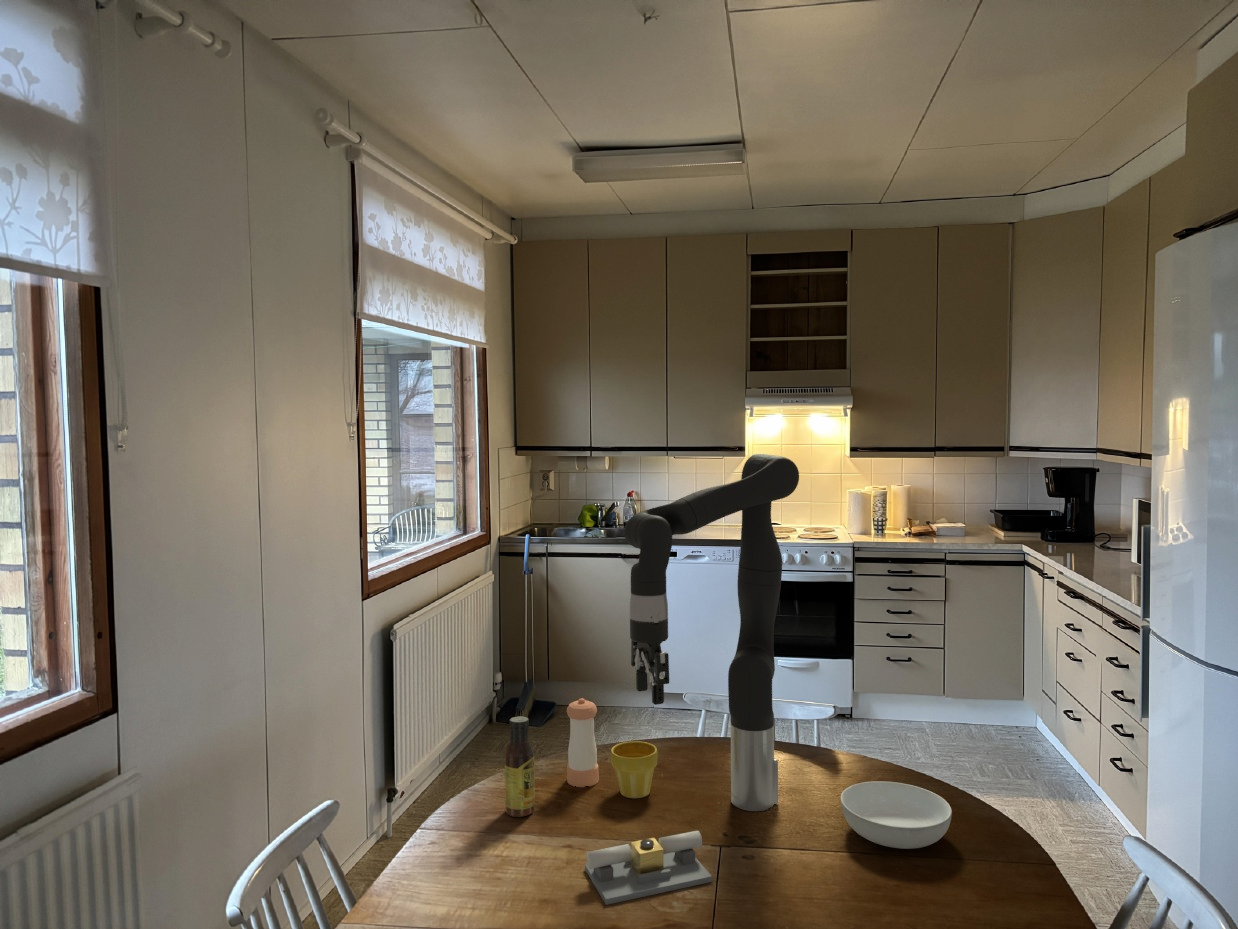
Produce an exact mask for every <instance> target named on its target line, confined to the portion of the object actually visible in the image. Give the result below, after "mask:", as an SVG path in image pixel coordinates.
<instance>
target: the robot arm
mask: <svg viewBox="0 0 1238 929" xmlns="http://www.w3.org/2000/svg"><path fill="white" fill-rule="evenodd" d="M740 478H741V479H739V480H736V481H732V482H730V483H725V484H721V485H715V486H711V487H706V488H704V489H700V490H698V491H695V492H692V493H689V494H688V495H685V496H682V497H681V498H679V499H676V500H675V501H673V502H670V503H667V504H664V505H659V506H656V507H652V508H648V509H645V510H642V511H639V512H637V513H635V514H634V515H632V516H631V517H630V518H628V520H627V521H626V523H625V526H624V529H623V535H624V539H625V541H626V542H627V543H628V544H629V545H630V546H632V547H633V548H636V549H639V557H638V562H636V563H634V564H633V565H632V567H631V569H630V598H629V638H630V640H631V641H630V642H631V643H630V644H631V645H630V646H631V650H630V652H631V654H630V655H631V656H630V660H631V661H630V664H631V666H632V667H634V668H633V669H634V672H635V684H636V685H635V688H636V690H637V692H645V691H647V690H648V689H649V688H648V684H649V683H648V676H649V677H650V680H651V681H650V682H651V703H652V704H653V705H657V706H658V705H662V704H664V703H665V689H664V688H665V685H669V684H670V663H669V662H670V661H669V660H670V659H669V658H670V657H669V656H670V655H669V653H668V652H667V651H666V652H665V651H662V645H661V644H662V643H663V642H666V641H667V640H668V638H669V605H668V603H669V602H668V598H667V597H668V596H667V594H668V593H667V570H668V565H669V562H670V556H671V553H672V552H671V551H672V546H673V536H675V535H678V536H679V535H686V534H690V533H692V532H694V531H696V530H699V529H701V528H703V527H705V526H707V525H709V524H711V523H714V522H716V521H718V520H721V519H723V518H725V517H727V516H730V515H732V514H735V513H738V512H741V532H740V548H739V549H740V550H739V559H738V560H739V561H738V570H737V571H738V572H737V596H738V597H737V598H738V599H737V600H738V608H739V616H740V624H739V626H740V627H739V635H738V639H737V640H738V641H737V645H736V650H735V655H734V657H733V658H732V660H731V664H730V665H729V667H728V674H727V678H728V679H727V681H728V682H727V684H728V685H727V690H728V692H727V693H728V695H727V696H728V711H729V712H728V713H729V716H730V717H729V718H730V794H731V795H730V800H731V803H732V805H733V806H734V807H736V808H738V809H741V810H743V811H747V812H760V811H761V812H762V811H768V810H769V809H768V808H770V807H771V808H773V807H774V806H775V805H774V804H776V805H778V804H779V760H777V758H775V725H774V724H775V713H774V711H773V710H774V708H773V679H774V675H775V670H776V667H775V665H776V664H775V649H774V648H775V646H774V644H775V640H774V639H775V638H774V637H775V634H774V632H775V631H774V630H775V621H776V616H777V612H778V606H779V600H780V595H781V594H780V593H781V588H782V587H781V586H782V575H783V574H782V573H783V557H782V556H783V555H782V552H781V549H780V546H779V543H778V539H777V536H776V533H775V530H774V528H773V527H774V526H773V523H772V503H773V502H774V501H775V502H776V501H779V500H783V499H785V498H787V497H789V496H791V495H792V494H793V493H794V492H795V491H796V489H797V487H798V485H799V481H800V471H799V468H798V467H797V465H796V463H795V462H794V461H793V460H791V459H790V458H787V457H785V456H781V455H776V454H775V455H773V454H767V453H766V454H765V453H756V454H755V453H754V454H753V455H751V456H750V457H748V459H747V460H746V461H745V462H744V465H743V468H742V471H741V477H740ZM777 803H778V804H777ZM773 805H774V806H773ZM771 808H770V809H771Z"/></svg>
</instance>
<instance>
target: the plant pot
mask: <svg viewBox="0 0 1238 929" xmlns="http://www.w3.org/2000/svg"><path fill="white" fill-rule="evenodd" d="M610 761H611V763H610V764H611V767H612V768H613V769H614V773H615V776H616V780H617V784H618V788H619V793H620V794H621V795H622V796H623V797H625V798H628V799H641V798H646V797H647V796H649V794H650V793H651V787H652V781H653V775H654V771H655V768H656V767H657V765H658V748H657V747H656V746H655V745H654V744H652V743H649V742H645V741H639V740H637V741H636V740H634V741H633V740H632V741H623V742H621V743H616V744H615V745H614V746H612V748H611V749H610Z"/></svg>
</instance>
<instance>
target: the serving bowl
mask: <svg viewBox="0 0 1238 929" xmlns="http://www.w3.org/2000/svg"><path fill="white" fill-rule="evenodd" d="M840 805H841V809H842V810H841V811H842V814H843V816H844V819H845V820H846V822H847V823H848V825H849V826H850V827H851V829H853V831H854V832H855V833H857V834H858V835H859V836H861V837H863V838H864V839H866V840H868V841H870V842H873V843H874V844H878V845H880V846H884V847H889V848H893V849H894V848H895V849H903V850H904V849H907V850H909V849H911V850H912V849H920V848H924V847H928V846H931V845H932V844H934V843H937V842H938V841H939V840H941V839H942V838H943V836H944V835H946V833H947V831H948V830H949V828H950V826H951V825H950V824H951V821H952V816H953V811H952V807H951V806H950V804H949V802H947V800H946V799H944V797H942V796H940V795H938V794H936V793H935V792H932V791H931V790H928V789H925V788H922V787H920V786H916V785H912V784H908V783H902V782H896V781H895V782H894V781H884V780H882V781H880V780H879V781H878V780H875V781H872V780H871V781H865V782H863V781H862V782H860V783H855V784H852V785H850V786H848V787H846V788H845V789H843V791H842V792H841V794H840Z"/></svg>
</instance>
